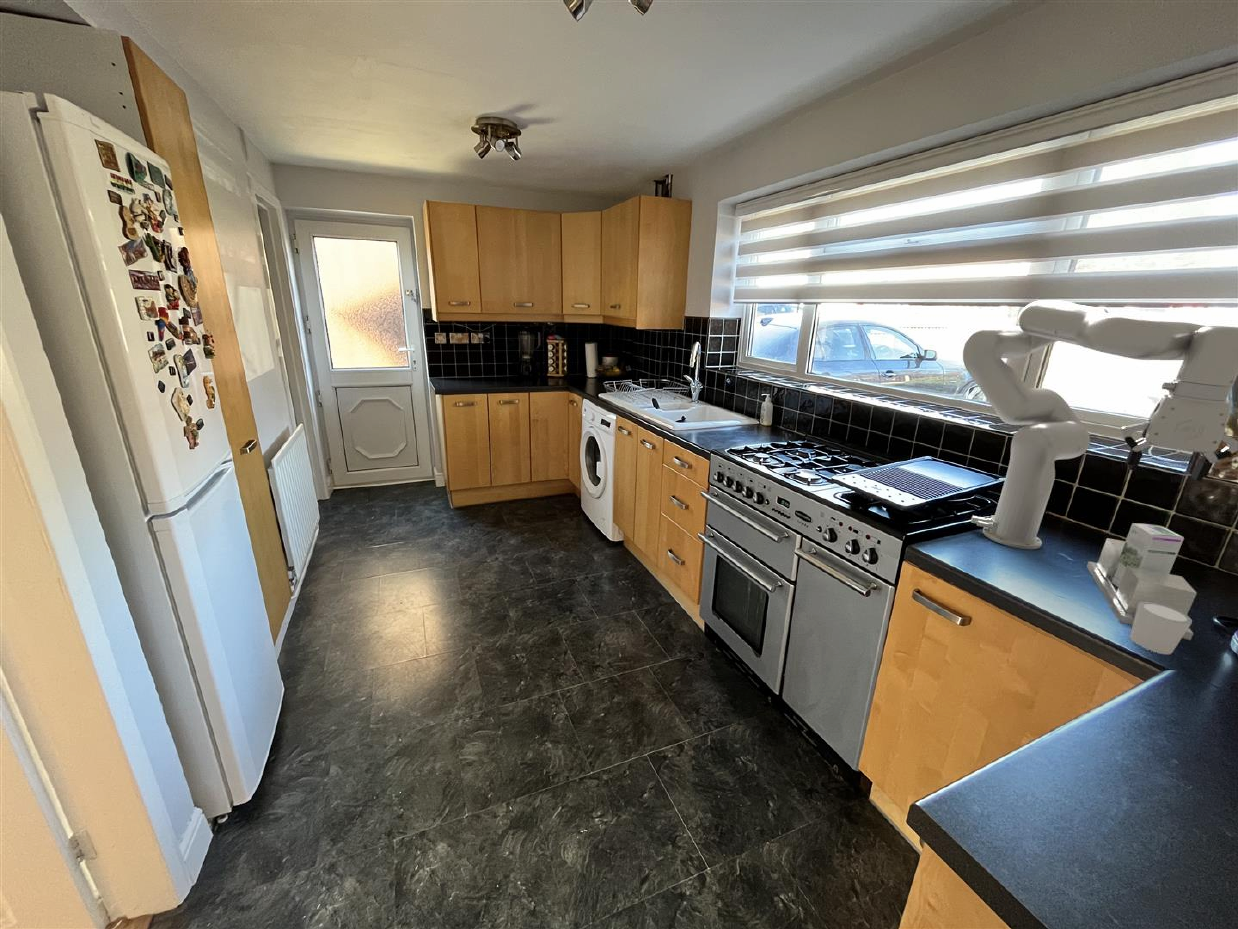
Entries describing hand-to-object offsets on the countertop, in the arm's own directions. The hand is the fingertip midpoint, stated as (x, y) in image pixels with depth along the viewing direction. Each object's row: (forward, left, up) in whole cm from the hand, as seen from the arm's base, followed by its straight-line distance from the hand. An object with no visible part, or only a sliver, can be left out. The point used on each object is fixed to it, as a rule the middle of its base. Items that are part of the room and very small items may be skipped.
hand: (1162, 473), depth 103 cm
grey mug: (-1, -24, -27) cm, 36 cm away
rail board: (+1, -5, -27) cm, 27 cm away
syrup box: (+1, -5, -25) cm, 26 cm away
